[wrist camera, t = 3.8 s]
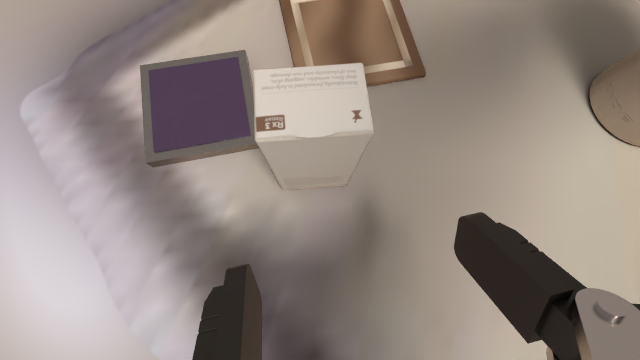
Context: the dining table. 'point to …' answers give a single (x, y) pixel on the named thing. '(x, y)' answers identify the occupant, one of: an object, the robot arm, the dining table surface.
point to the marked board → (353, 37)
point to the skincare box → (312, 123)
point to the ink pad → (197, 108)
